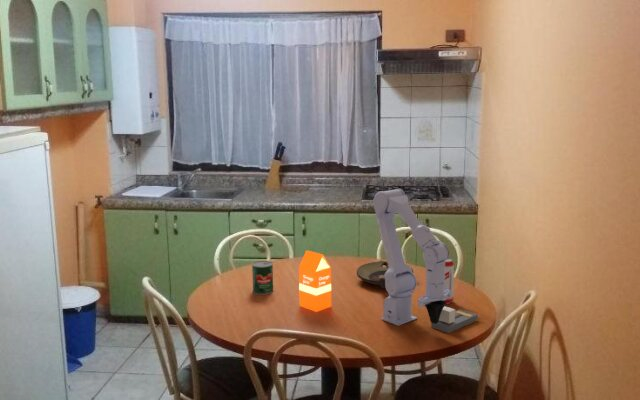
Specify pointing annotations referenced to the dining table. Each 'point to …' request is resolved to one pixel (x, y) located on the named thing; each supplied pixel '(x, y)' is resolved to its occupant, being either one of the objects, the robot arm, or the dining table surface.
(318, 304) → the orange juice
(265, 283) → the canned tomato
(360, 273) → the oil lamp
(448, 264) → the beer can
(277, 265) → the dining table surface
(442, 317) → the fader knob
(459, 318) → the fader deck
